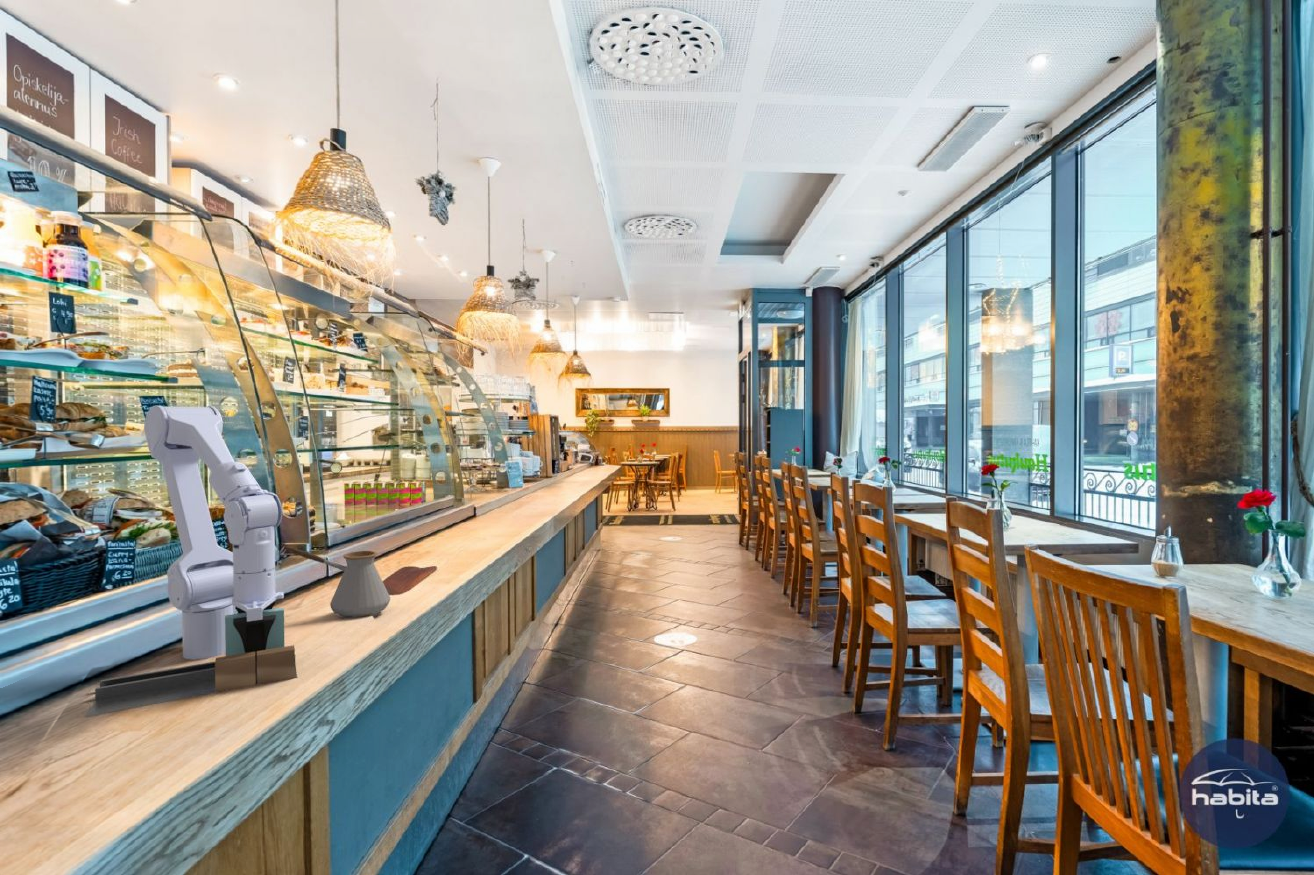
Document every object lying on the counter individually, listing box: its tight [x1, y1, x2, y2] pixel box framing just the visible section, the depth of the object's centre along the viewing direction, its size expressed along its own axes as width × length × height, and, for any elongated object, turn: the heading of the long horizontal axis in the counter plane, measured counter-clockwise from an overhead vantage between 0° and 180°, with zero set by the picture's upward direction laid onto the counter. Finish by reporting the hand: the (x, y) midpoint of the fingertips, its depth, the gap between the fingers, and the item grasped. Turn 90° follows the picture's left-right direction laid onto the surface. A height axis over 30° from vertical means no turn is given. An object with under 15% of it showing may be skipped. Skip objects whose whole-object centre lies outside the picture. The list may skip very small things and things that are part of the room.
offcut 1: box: [214, 652, 257, 693], centre depth 96 cm, size 2×5×4 cm, turn 122°
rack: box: [85, 661, 298, 718], centre depth 97 cm, size 11×25×2 cm, turn 122°
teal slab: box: [225, 607, 285, 656], centre depth 103 cm, size 2×8×9 cm, turn 122°
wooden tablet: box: [382, 565, 438, 596], centre depth 161 cm, size 27×10×2 cm, turn 1°
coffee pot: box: [279, 545, 391, 620], centre depth 133 cm, size 21×12×15 cm, turn 97°
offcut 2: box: [256, 644, 296, 686], centre depth 99 cm, size 2×5×4 cm, turn 122°
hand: (255, 652), depth 103 cm, fingers open, 7 cm apart
